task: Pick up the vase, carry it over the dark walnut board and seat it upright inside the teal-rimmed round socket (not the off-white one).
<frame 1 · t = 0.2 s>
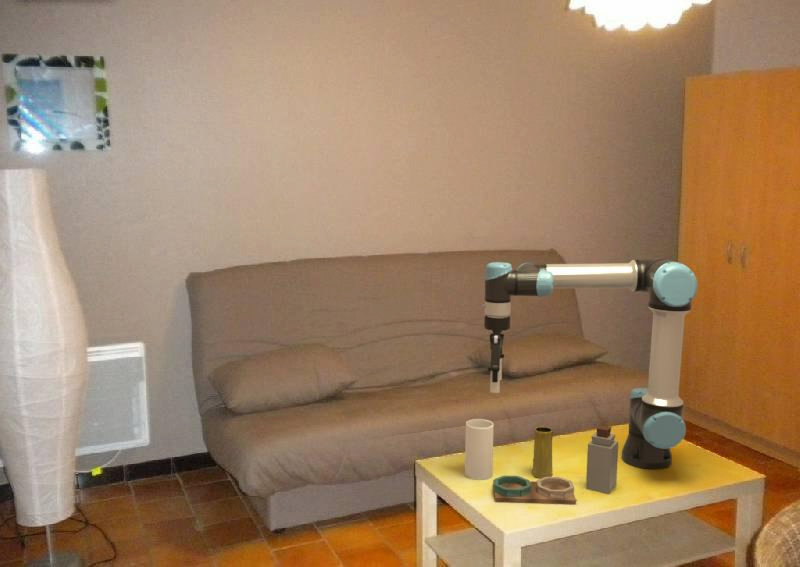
hand: (495, 385, 233), 27 cm above the table, fingers open, 13 cm apart
cup: (478, 475, 236), on the table
vase: (542, 475, 236), on the table
perfume bottle: (601, 488, 227), on the table
board: (533, 494, 222), on the table
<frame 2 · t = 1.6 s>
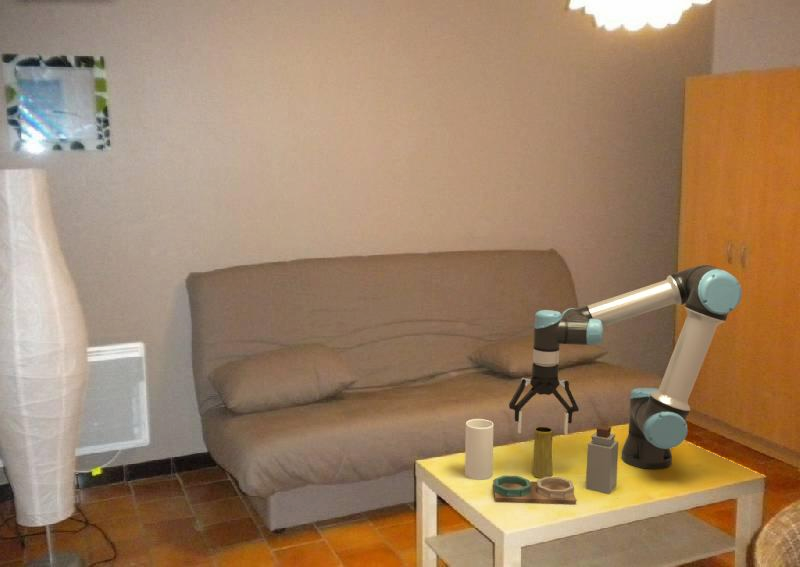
hand: (542, 432, 234), 13 cm above the table, fingers open, 13 cm apart
nothing on the table moved.
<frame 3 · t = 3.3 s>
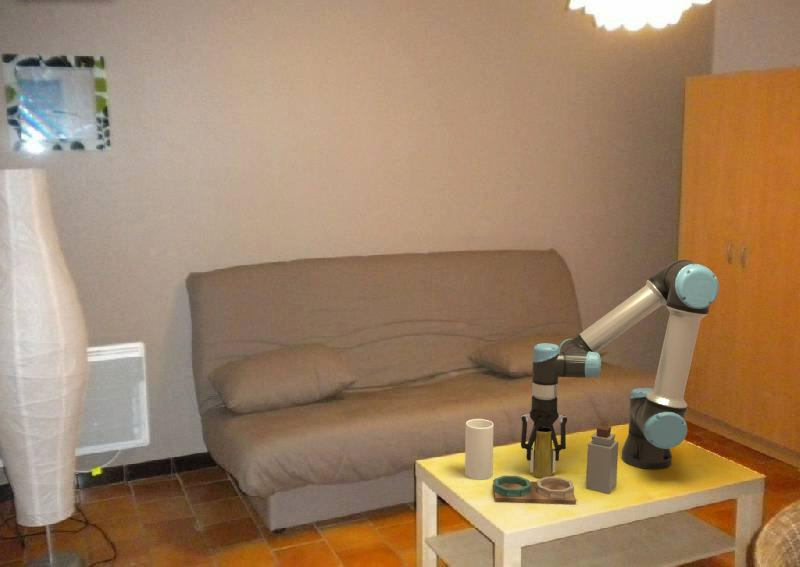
hand: (542, 470, 236), 1 cm above the table, fingers closed on vase, 6 cm apart
vase: (542, 475, 236), on the table, touching gripper
everything else where it was.
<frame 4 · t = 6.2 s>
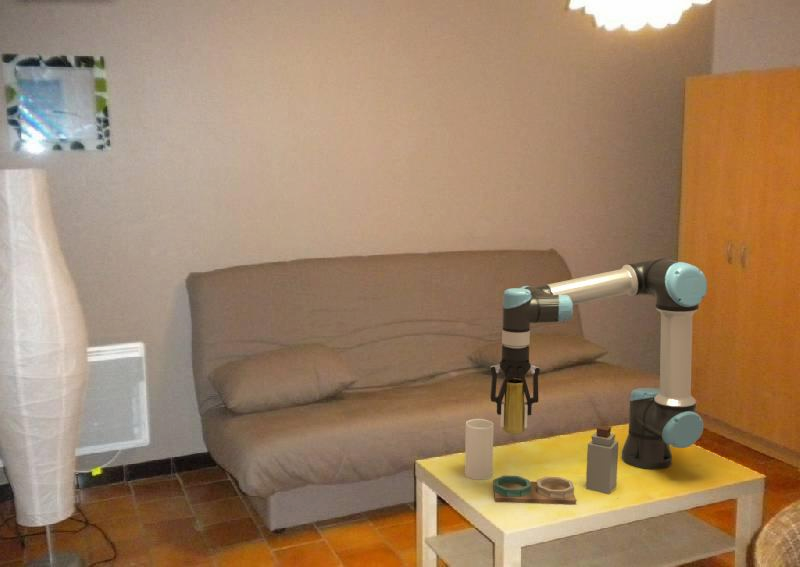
hand: (513, 425, 220), 20 cm above the table, fingers closed on vase, 6 cm apart
vase: (513, 430, 220), point 18 cm above the table, touching gripper
everything else where it was.
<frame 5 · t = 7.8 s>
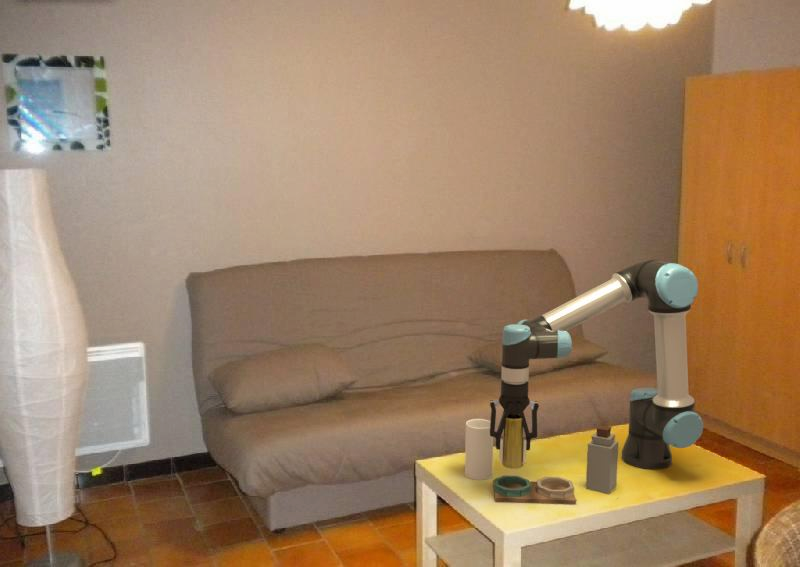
hand: (512, 460, 221), 10 cm above the table, fingers closed on vase, 6 cm apart
vase: (512, 465, 221), point 8 cm above the table, touching gripper
everything else where it was.
when the fingers open (4 cm above the table, at t = 9.2 s): vase drops 2 cm, resting on board.
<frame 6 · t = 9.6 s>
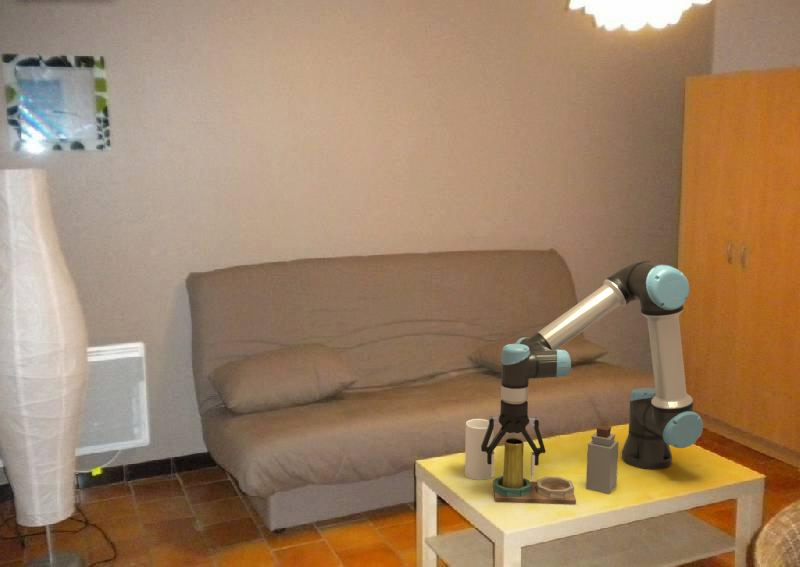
hand: (512, 475, 222), 5 cm above the table, fingers open, 10 cm apart
vase: (512, 489, 223), point 1 cm above the table, touching board
everything else where it was.
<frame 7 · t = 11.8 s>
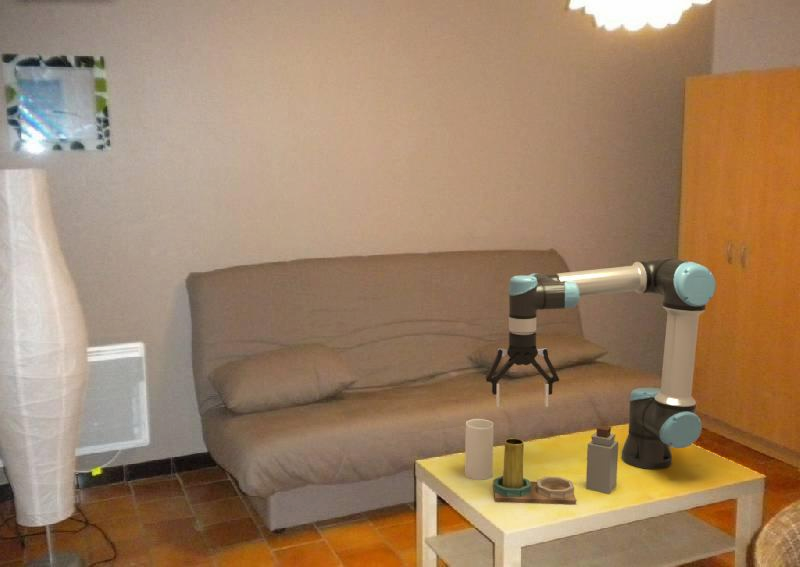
hand: (521, 405, 221), 25 cm above the table, fingers open, 13 cm apart
nothing on the table moved.
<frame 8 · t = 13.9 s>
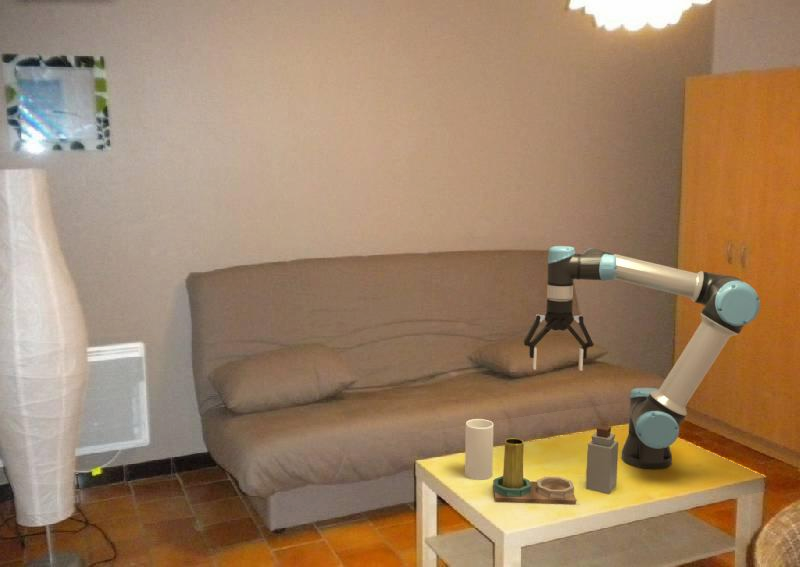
hand: (557, 369, 235), 32 cm above the table, fingers open, 13 cm apart
nothing on the table moved.
at the end: vase 0.2 cm from the target spot on the board, point 1.0 cm above the board's base; vase tilted 0°; the gripper is holding nothing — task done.
